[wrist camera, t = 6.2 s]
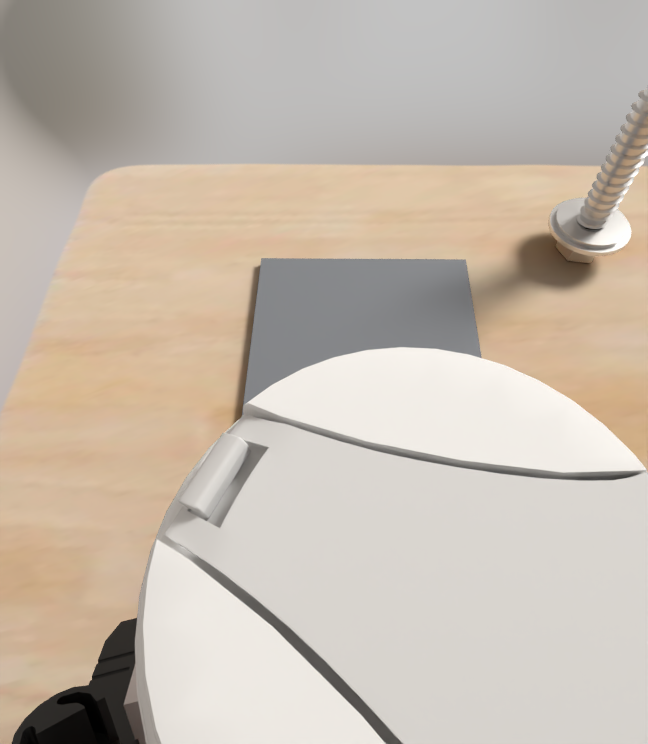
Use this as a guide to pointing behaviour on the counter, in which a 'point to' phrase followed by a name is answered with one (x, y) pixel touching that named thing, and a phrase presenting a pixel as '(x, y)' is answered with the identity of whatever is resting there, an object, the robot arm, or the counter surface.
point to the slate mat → (355, 312)
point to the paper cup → (401, 567)
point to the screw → (604, 196)
